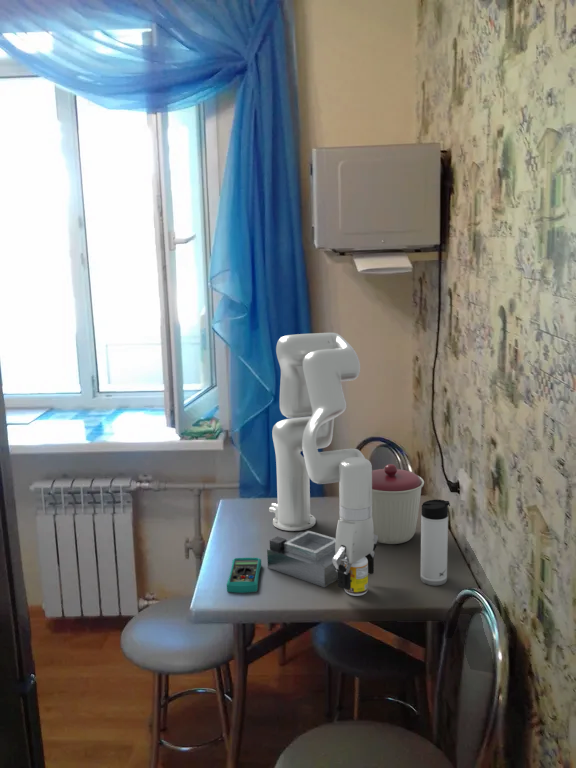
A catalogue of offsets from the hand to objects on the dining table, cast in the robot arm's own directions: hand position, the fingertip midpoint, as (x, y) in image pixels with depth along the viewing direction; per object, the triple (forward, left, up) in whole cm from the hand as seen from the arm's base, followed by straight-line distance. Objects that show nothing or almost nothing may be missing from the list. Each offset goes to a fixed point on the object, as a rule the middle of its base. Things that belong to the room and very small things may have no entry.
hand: (356, 580), depth 167 cm
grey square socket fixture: (-16, +4, -3) cm, 17 cm away
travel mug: (+12, +16, -3) cm, 20 cm away
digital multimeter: (-26, -11, -4) cm, 28 cm away
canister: (-10, +32, -3) cm, 34 cm away
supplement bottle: (0, 0, -3) cm, 3 cm away
